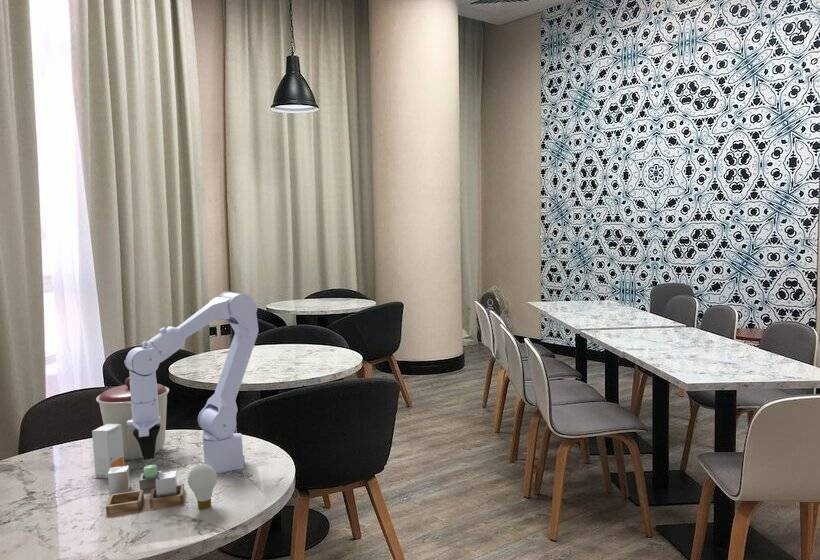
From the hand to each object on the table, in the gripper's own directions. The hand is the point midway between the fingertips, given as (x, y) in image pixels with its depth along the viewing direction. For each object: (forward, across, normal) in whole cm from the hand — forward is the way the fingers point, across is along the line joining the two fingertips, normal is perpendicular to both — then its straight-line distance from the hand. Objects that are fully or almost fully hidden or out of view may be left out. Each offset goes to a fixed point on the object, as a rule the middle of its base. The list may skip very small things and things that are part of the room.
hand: (149, 458), depth 155 cm
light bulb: (+8, +17, +12) cm, 22 cm away
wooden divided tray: (+8, +10, 0) cm, 13 cm away
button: (+6, 0, 0) cm, 6 cm away
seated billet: (+6, +10, +4) cm, 13 cm away
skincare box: (+8, -15, -11) cm, 20 cm away
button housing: (+8, 0, 0) cm, 8 cm away
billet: (+7, 0, -7) cm, 10 cm away
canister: (+8, -29, -6) cm, 31 cm away
